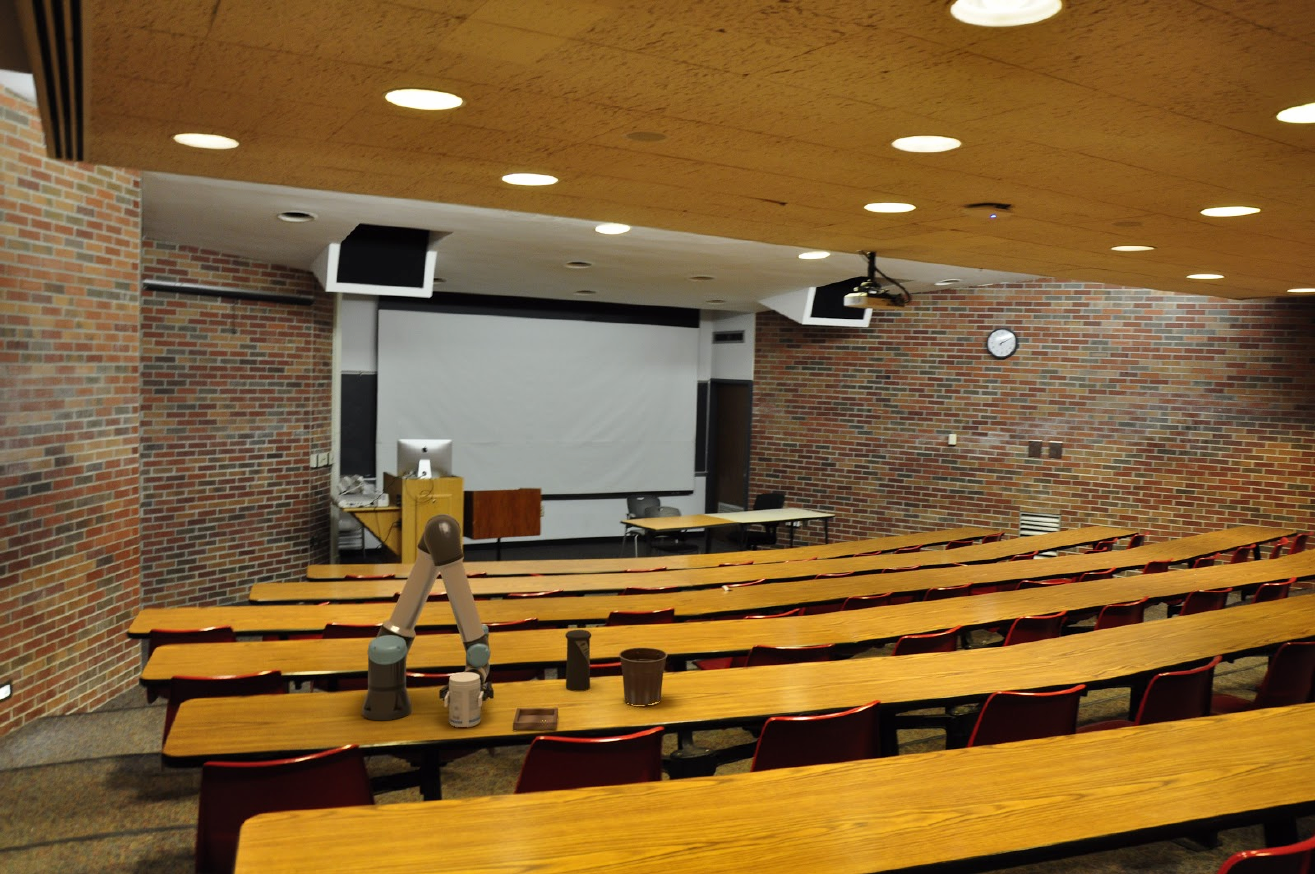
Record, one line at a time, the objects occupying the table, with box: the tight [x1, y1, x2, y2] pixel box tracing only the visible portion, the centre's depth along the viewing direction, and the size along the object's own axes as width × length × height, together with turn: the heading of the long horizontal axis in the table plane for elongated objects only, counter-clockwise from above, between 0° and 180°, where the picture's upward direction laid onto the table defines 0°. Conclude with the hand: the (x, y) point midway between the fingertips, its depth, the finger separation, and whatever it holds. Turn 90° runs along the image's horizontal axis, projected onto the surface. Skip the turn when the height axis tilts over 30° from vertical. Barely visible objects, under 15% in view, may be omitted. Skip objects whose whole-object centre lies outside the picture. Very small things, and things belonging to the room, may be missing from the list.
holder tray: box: [512, 707, 559, 731], centre depth 288 cm, size 13×13×2 cm
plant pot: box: [618, 647, 668, 706], centre depth 310 cm, size 16×16×16 cm
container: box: [565, 629, 592, 691], centre depth 323 cm, size 9×9×20 cm
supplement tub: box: [448, 671, 482, 728], centre depth 287 cm, size 10×10×15 cm
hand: (462, 702), depth 282 cm, fingers closed on supplement tub, 9 cm apart
